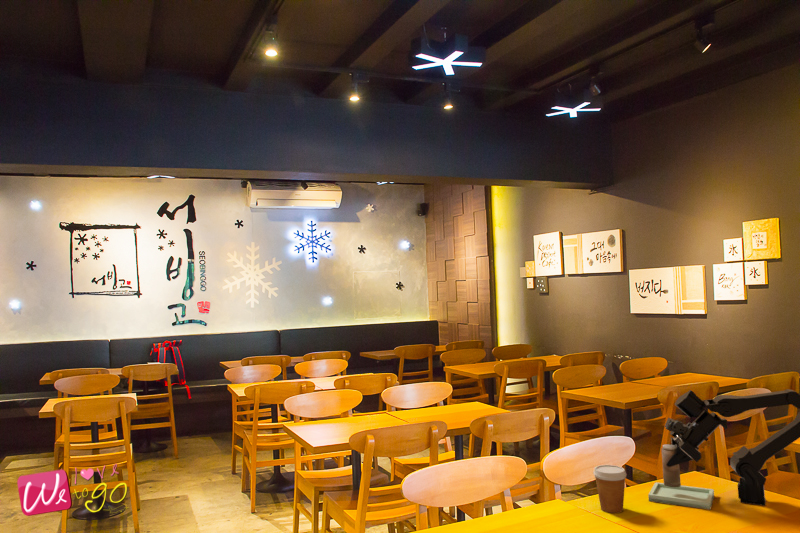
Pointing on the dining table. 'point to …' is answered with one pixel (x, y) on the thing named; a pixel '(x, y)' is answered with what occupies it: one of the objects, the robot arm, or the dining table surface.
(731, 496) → the dining table surface
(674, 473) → the pepper mill
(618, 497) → the disposable coffee cup
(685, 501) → the tray
